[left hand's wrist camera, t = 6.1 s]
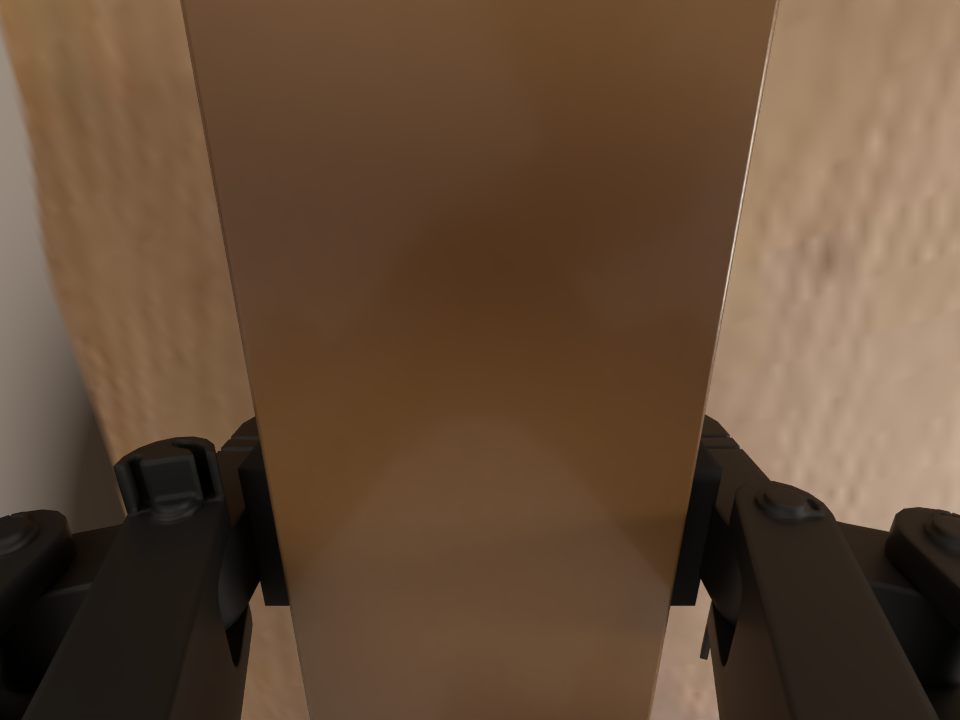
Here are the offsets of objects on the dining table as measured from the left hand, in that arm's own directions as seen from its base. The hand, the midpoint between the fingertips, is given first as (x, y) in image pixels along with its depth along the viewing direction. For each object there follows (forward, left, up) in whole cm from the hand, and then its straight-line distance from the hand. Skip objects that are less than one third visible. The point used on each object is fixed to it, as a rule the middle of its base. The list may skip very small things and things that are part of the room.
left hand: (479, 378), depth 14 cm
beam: (+21, +4, -1) cm, 22 cm away
